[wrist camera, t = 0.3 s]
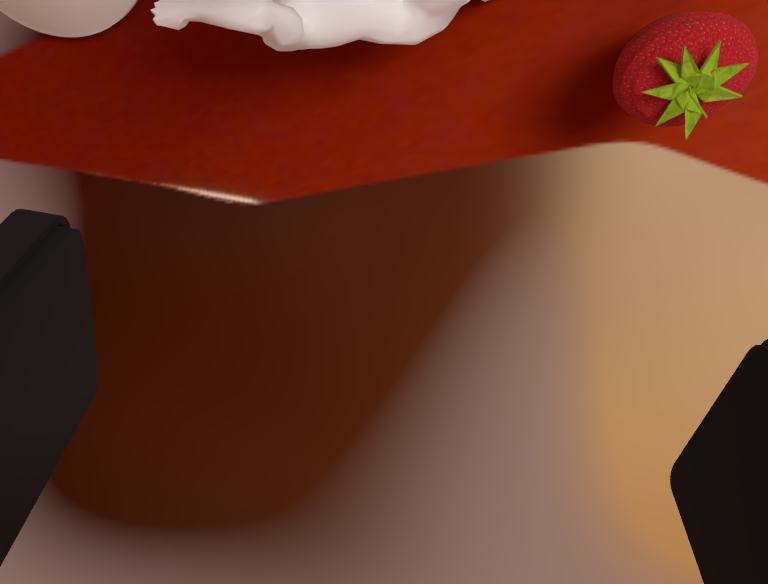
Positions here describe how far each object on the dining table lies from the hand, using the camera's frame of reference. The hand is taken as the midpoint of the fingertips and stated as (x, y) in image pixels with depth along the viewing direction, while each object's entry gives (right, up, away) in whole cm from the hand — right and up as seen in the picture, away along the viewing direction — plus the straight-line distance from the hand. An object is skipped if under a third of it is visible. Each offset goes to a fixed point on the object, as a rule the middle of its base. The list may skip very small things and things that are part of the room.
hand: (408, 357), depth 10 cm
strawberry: (+17, +16, +32) cm, 40 cm away
